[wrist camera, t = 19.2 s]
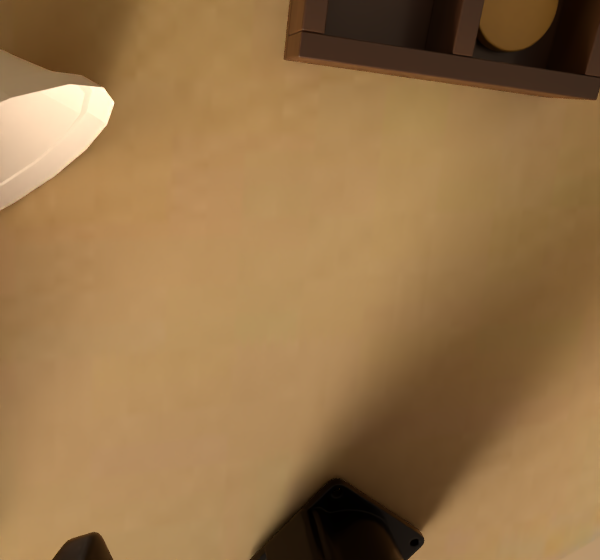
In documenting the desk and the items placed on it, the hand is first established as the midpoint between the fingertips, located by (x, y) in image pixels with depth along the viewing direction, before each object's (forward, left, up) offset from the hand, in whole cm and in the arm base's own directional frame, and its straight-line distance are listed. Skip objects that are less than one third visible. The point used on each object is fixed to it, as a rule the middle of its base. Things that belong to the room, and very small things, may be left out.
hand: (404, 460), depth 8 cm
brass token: (-1, -11, -12) cm, 17 cm away
